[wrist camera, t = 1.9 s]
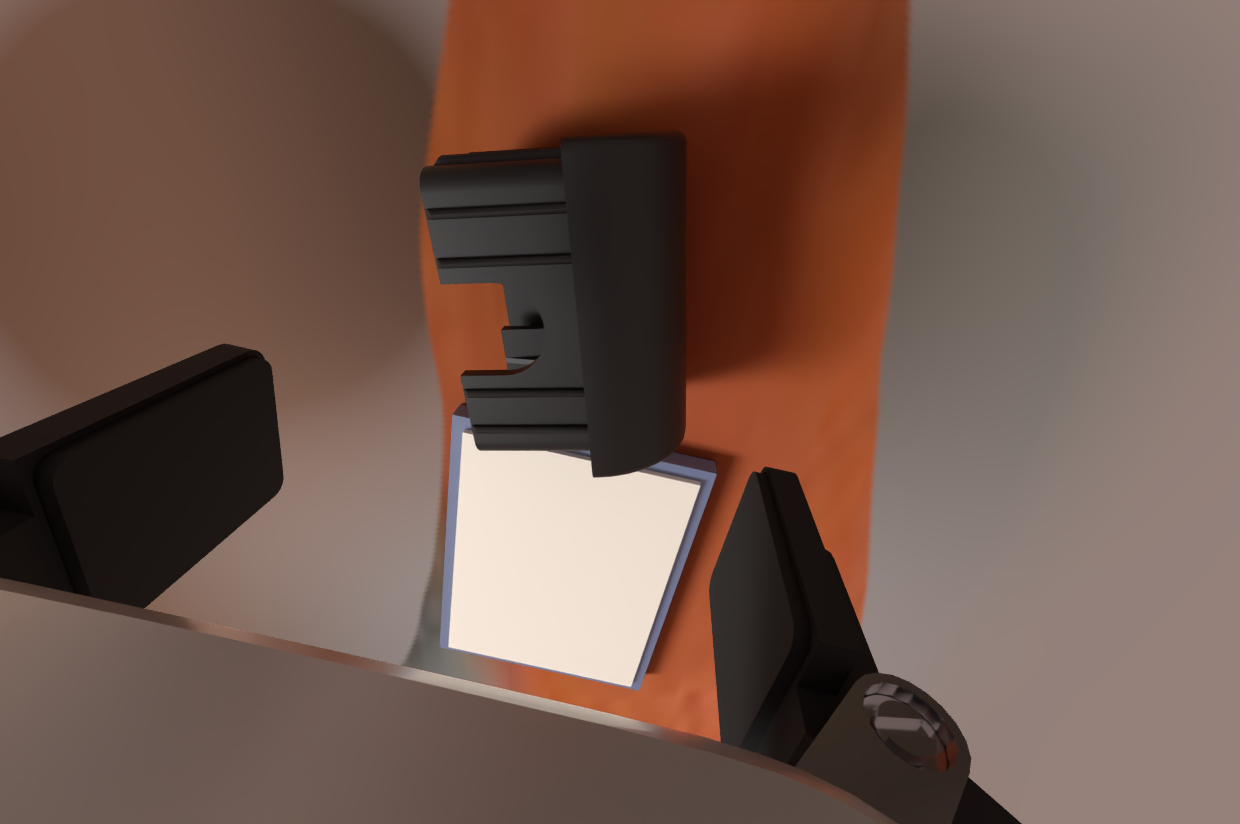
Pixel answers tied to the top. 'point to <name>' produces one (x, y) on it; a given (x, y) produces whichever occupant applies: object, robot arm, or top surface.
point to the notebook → (564, 556)
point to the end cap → (574, 292)
